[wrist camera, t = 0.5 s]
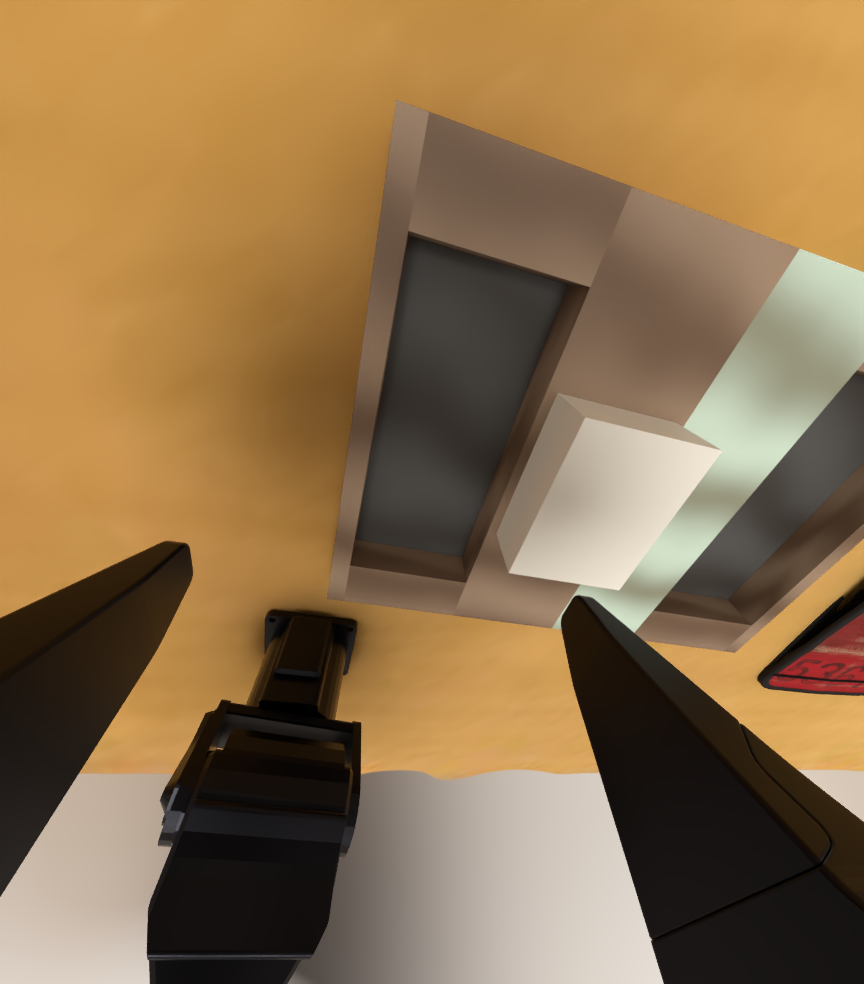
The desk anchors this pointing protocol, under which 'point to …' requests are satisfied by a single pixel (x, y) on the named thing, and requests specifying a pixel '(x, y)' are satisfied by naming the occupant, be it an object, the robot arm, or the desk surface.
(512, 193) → the trap deck
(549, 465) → the cream block
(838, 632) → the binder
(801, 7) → the desk surface
